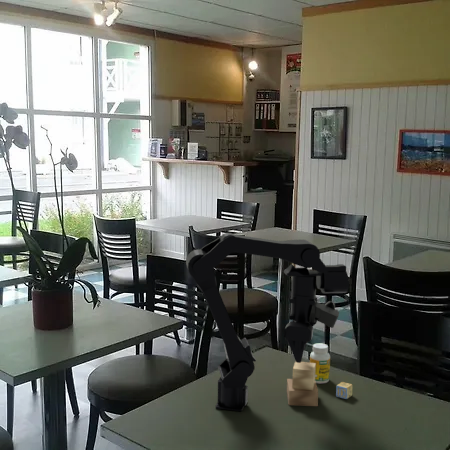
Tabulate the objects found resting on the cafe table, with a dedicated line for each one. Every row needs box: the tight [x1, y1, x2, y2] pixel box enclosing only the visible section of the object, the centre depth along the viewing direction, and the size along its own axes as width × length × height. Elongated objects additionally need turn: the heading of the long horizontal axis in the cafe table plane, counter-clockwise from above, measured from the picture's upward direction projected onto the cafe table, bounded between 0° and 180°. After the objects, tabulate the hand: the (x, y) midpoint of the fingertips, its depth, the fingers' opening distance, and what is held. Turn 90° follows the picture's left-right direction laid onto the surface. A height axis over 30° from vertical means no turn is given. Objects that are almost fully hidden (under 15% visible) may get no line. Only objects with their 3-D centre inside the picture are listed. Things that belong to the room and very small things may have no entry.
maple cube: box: [292, 360, 316, 390], centre depth 142 cm, size 5×5×5 cm
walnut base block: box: [286, 378, 319, 407], centre depth 143 cm, size 7×7×4 cm
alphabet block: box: [335, 381, 353, 400], centre depth 145 cm, size 3×3×3 cm
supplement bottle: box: [309, 342, 331, 384], centre depth 154 cm, size 5×5×10 cm
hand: (300, 355), depth 140 cm, fingers open, 9 cm apart
